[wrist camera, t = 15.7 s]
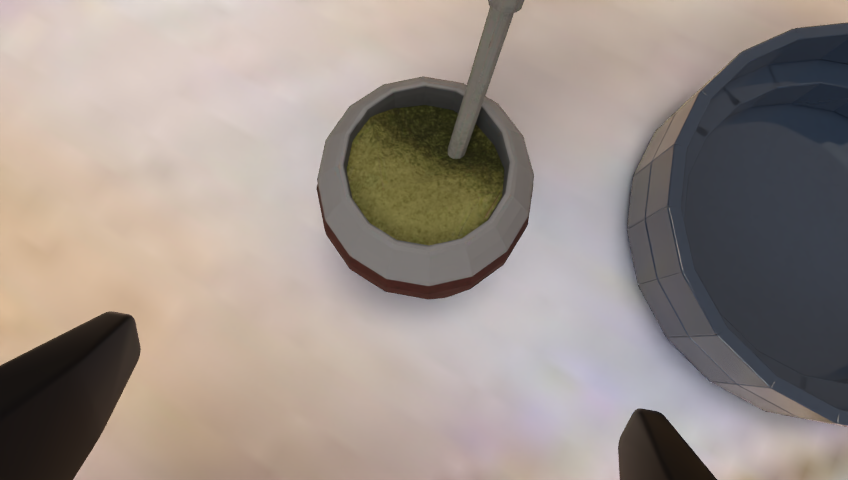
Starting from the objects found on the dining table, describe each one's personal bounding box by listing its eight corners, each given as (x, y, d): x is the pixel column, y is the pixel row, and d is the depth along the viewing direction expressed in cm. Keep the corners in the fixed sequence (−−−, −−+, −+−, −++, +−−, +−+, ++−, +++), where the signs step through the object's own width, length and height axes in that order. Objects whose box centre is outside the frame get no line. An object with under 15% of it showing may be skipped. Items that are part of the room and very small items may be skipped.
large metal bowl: (741, 484, 22) (818, 516, 18) (564, 155, 24) (594, 116, 20) (1043, 322, 23) (1178, 316, 19) (847, 28, 26) (929, -33, 22)
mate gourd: (358, 324, 23) (256, 280, 8) (322, 147, 24) (180, -168, 9) (533, 284, 23) (741, 173, 8) (487, 112, 25) (596, -239, 10)
